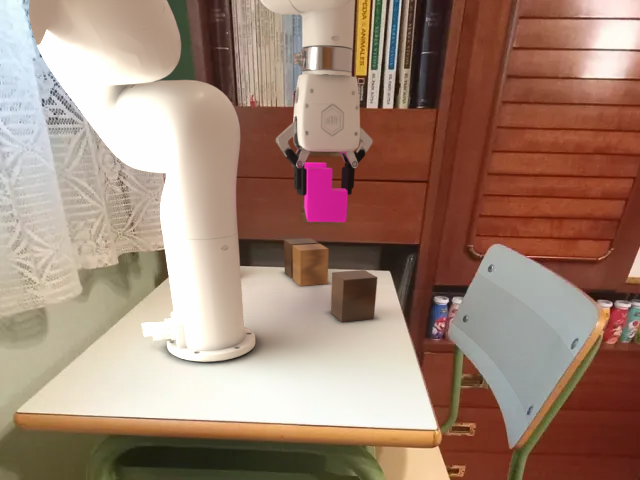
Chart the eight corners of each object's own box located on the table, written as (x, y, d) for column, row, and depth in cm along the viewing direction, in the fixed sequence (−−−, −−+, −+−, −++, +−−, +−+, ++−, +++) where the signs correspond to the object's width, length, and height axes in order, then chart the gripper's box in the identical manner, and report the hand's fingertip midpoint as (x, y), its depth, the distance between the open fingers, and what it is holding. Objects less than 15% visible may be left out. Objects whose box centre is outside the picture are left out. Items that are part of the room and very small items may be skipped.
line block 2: (341, 322, 80) (343, 280, 76) (330, 312, 84) (332, 272, 80) (374, 318, 82) (377, 277, 78) (361, 309, 86) (364, 269, 82)
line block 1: (291, 278, 102) (290, 244, 98) (284, 272, 106) (283, 239, 102) (317, 276, 104) (318, 242, 100) (310, 270, 108) (310, 238, 104)
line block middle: (300, 286, 97) (300, 250, 94) (292, 279, 101) (292, 245, 98) (327, 284, 99) (328, 248, 96) (319, 277, 103) (320, 243, 100)
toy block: (346, 222, 77) (348, 169, 73) (307, 221, 77) (307, 168, 73) (337, 208, 90) (339, 163, 86) (304, 207, 90) (304, 162, 86)
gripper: (278, 59, 67) (281, 198, 76) (390, 66, 72) (379, 195, 82) (264, 63, 73) (268, 192, 82) (368, 70, 78) (361, 190, 88)
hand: (324, 193), depth 82 cm, fingers closed on toy block, 7 cm apart
